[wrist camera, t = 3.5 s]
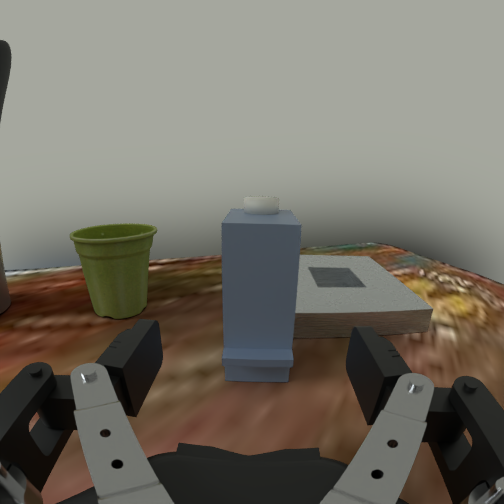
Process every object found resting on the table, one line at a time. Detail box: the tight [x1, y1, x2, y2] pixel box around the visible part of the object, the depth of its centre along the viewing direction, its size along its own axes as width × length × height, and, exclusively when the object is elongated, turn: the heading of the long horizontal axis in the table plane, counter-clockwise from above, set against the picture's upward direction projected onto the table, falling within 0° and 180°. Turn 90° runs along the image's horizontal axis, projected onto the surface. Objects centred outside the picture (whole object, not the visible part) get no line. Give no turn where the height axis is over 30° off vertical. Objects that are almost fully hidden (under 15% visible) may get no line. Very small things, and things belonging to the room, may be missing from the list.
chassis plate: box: [293, 255, 433, 338], centre depth 35 cm, size 20×16×2 cm
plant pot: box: [70, 224, 157, 319], centre depth 29 cm, size 9×9×9 cm
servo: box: [222, 196, 301, 382], centre depth 21 cm, size 10×4×12 cm, turn 179°
